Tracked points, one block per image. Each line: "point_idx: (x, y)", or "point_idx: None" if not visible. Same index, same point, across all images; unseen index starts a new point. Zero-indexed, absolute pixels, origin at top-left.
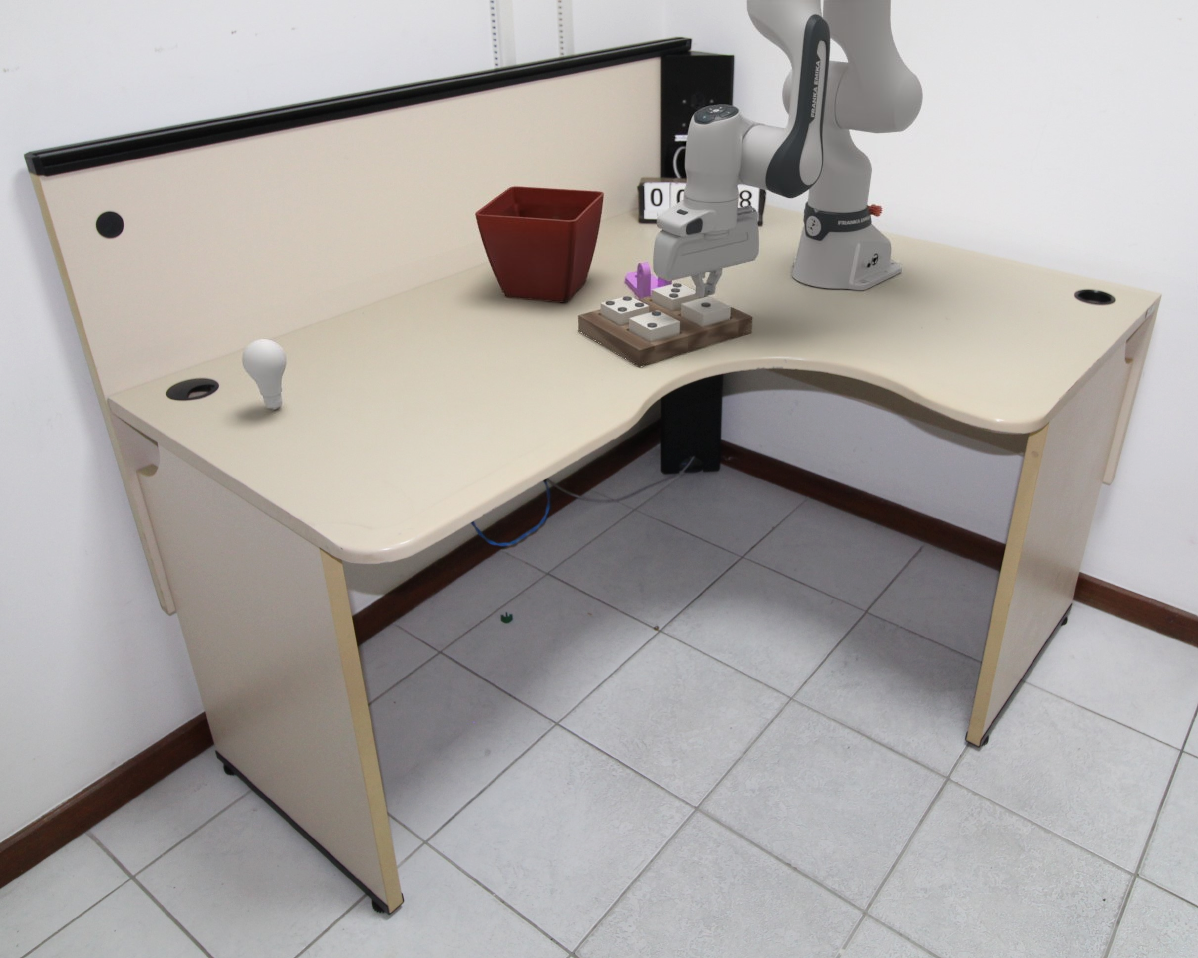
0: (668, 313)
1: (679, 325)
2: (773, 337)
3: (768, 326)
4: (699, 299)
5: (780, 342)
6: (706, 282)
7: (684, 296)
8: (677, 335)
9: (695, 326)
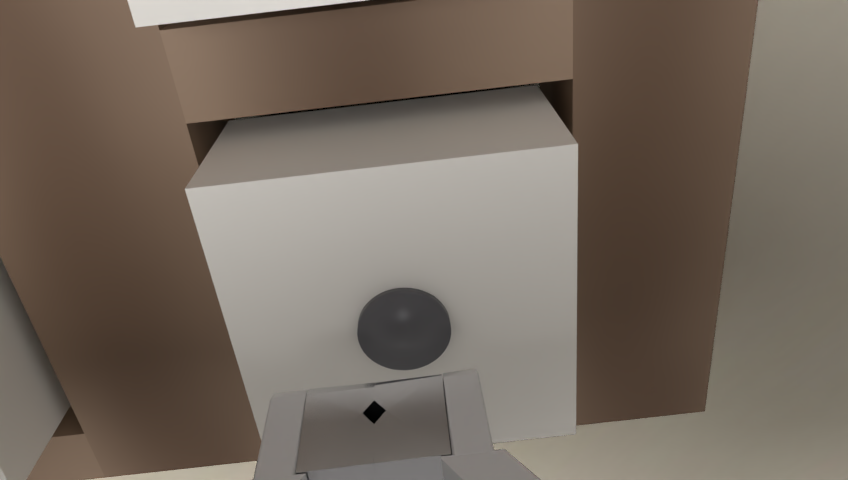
0: (109, 53)
1: (29, 468)
2: (712, 422)
3: (824, 300)
4: (437, 174)
5: (689, 477)
6: (443, 461)
7: (330, 4)
8: None
9: (225, 384)
